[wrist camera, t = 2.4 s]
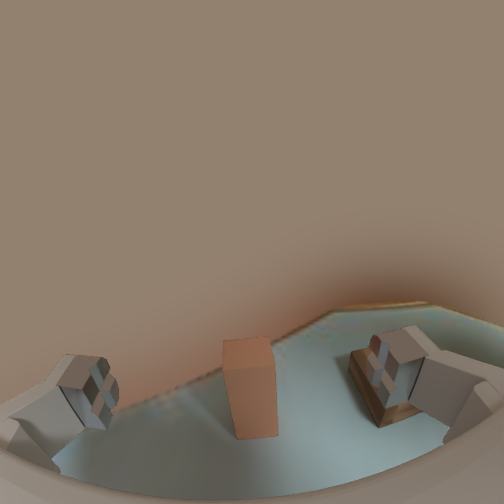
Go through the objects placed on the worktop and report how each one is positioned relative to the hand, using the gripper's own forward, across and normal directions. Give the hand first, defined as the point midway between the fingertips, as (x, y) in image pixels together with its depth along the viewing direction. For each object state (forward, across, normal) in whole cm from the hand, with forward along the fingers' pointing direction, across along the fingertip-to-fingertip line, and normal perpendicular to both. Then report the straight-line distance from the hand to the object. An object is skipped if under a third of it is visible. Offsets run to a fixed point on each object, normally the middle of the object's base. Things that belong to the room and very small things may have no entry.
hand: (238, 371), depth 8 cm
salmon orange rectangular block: (+12, 0, +19) cm, 22 cm away
